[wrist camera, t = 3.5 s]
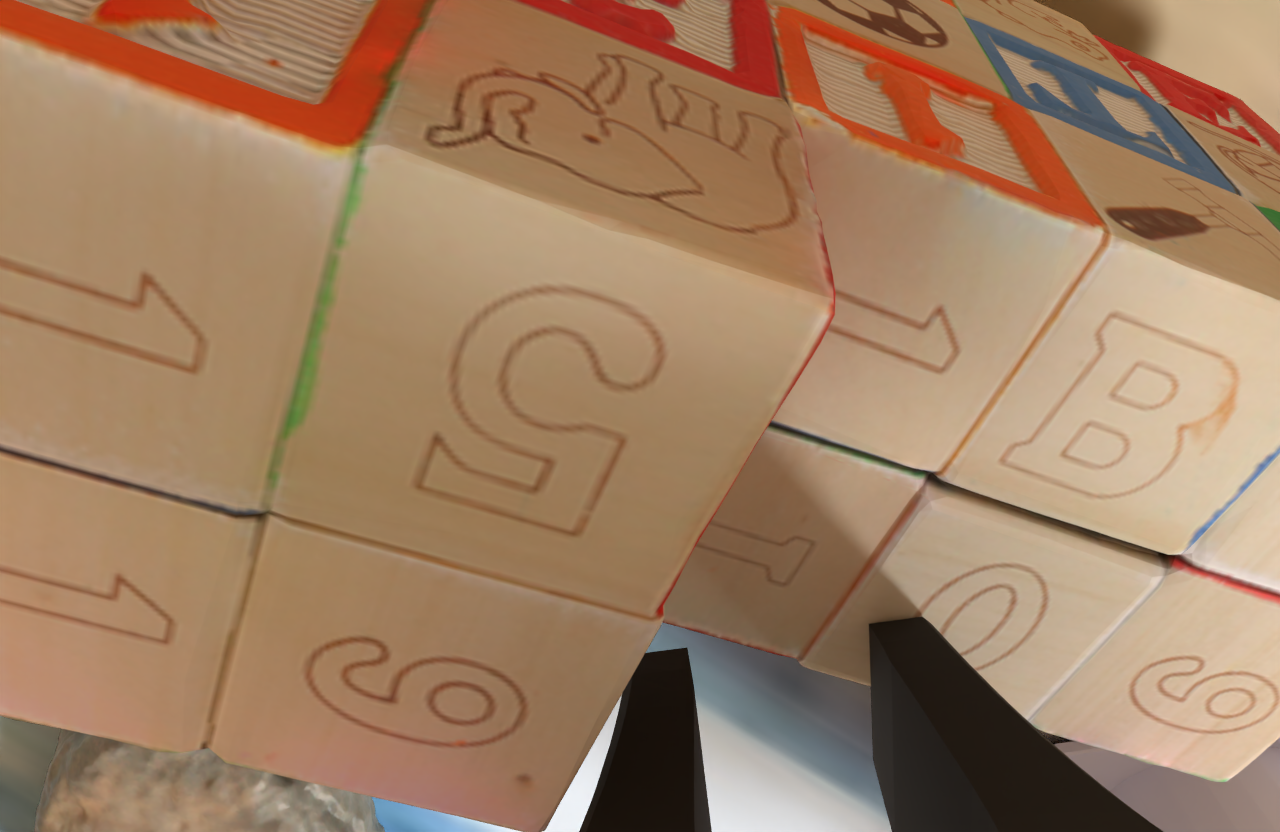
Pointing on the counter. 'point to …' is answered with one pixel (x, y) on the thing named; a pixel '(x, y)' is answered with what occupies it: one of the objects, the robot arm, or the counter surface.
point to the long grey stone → (183, 794)
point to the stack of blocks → (622, 373)
